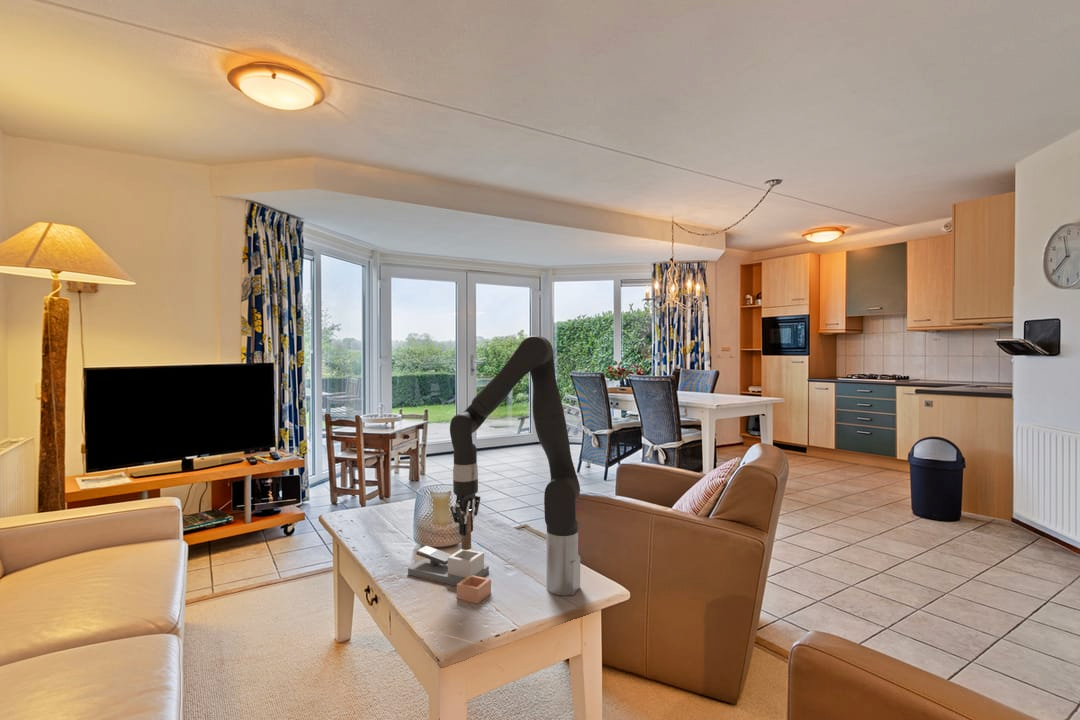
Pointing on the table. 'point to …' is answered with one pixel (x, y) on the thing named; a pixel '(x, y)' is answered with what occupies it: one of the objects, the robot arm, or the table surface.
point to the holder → (473, 588)
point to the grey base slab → (451, 567)
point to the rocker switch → (434, 554)
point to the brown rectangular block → (467, 539)
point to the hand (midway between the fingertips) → (466, 533)
